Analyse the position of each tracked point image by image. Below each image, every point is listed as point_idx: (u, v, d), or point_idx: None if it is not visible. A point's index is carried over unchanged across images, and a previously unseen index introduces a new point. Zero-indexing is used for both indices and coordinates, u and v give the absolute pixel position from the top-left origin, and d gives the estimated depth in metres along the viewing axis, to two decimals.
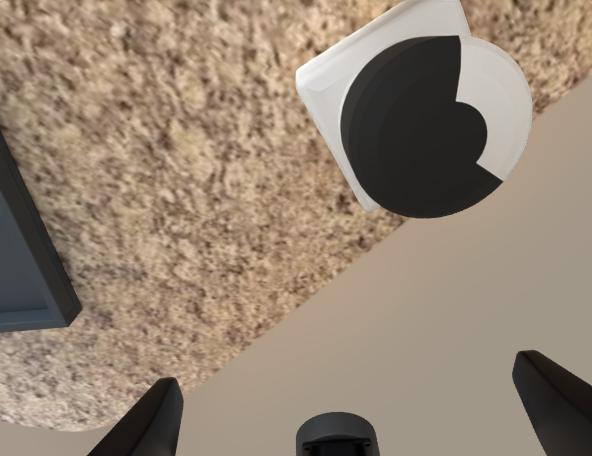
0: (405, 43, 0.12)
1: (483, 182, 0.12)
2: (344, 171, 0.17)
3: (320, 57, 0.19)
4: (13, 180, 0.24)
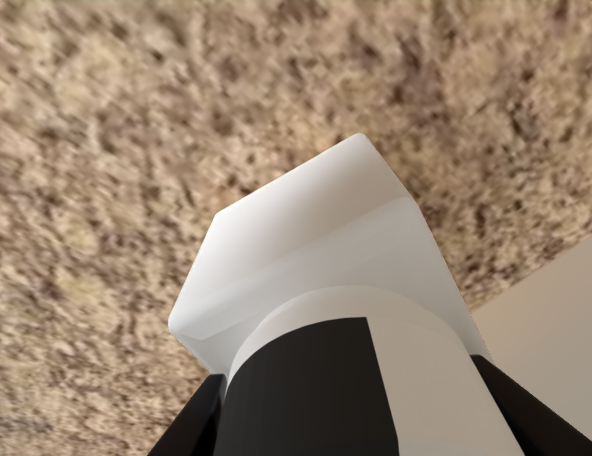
0: (305, 377, 0.06)
1: None
2: None
3: (234, 223, 0.13)
4: None
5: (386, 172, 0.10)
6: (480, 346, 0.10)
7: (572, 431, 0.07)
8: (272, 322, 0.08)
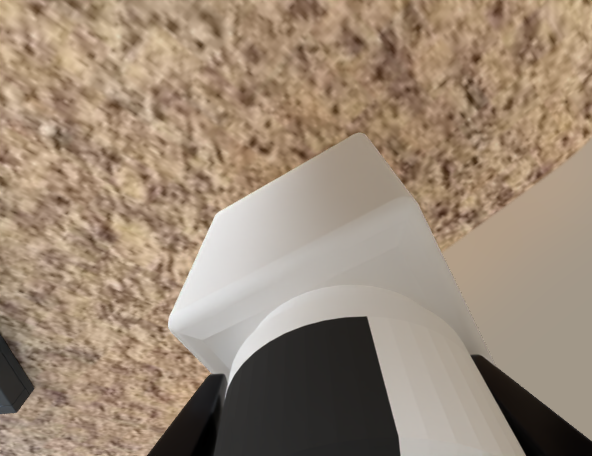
0: (306, 377, 0.06)
1: None
2: None
3: (234, 223, 0.13)
4: None
5: (386, 171, 0.10)
6: (480, 345, 0.10)
7: (572, 431, 0.07)
8: (272, 322, 0.08)
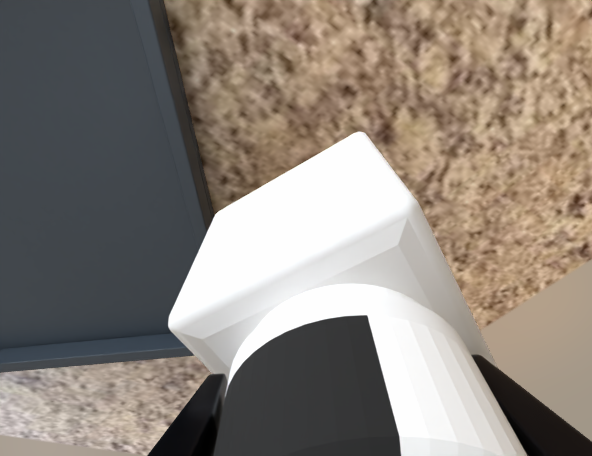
0: (306, 375, 0.06)
1: None
2: None
3: (234, 222, 0.13)
4: (202, 182, 0.20)
5: (386, 170, 0.10)
6: (480, 344, 0.10)
7: (572, 431, 0.07)
8: (273, 320, 0.08)
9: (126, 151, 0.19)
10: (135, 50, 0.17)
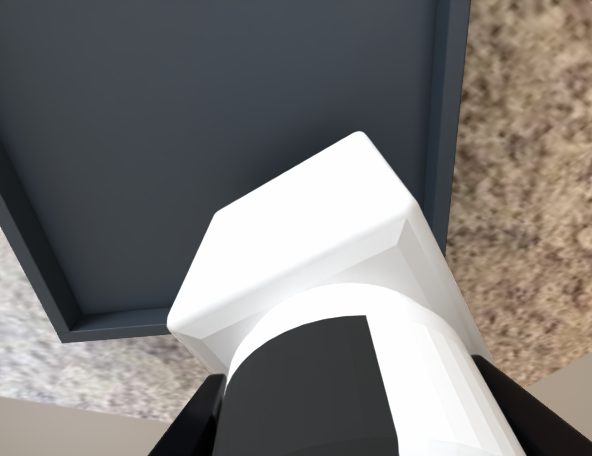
0: (305, 375, 0.06)
1: None
2: None
3: (234, 222, 0.13)
4: None
5: (386, 169, 0.10)
6: (479, 344, 0.10)
7: (571, 431, 0.07)
8: (271, 320, 0.08)
9: (366, 51, 0.16)
10: None
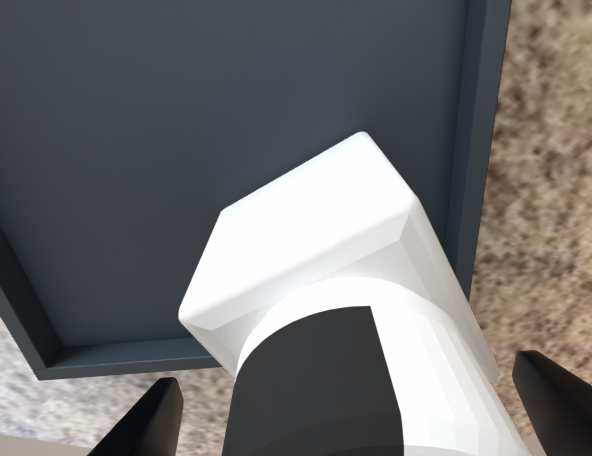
0: (314, 360, 0.07)
1: None
2: None
3: (240, 219, 0.13)
4: None
5: (389, 168, 0.10)
6: (478, 336, 0.10)
7: None
8: (280, 311, 0.08)
9: (383, 56, 0.13)
10: None
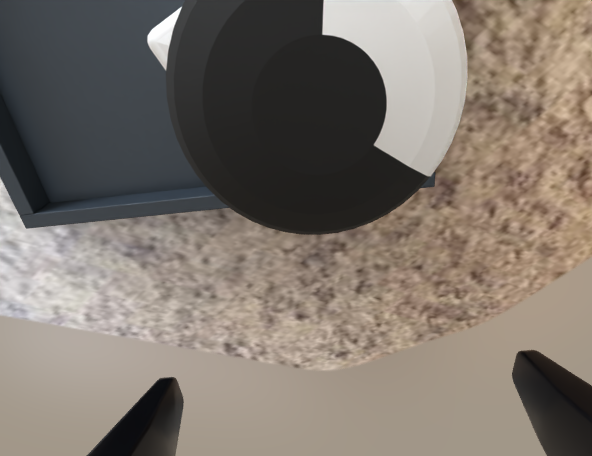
0: None
1: (391, 178, 0.08)
2: None
3: None
4: None
5: None
6: None
7: None
8: None
9: None
10: None
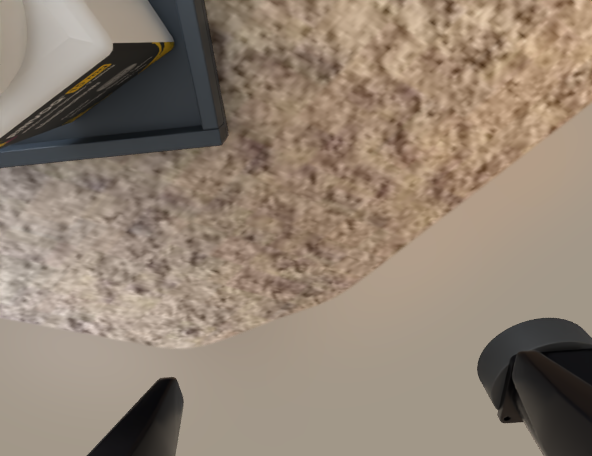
0: None
1: None
2: None
3: None
4: None
5: None
6: None
7: None
8: None
9: None
10: None
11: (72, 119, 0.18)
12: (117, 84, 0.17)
